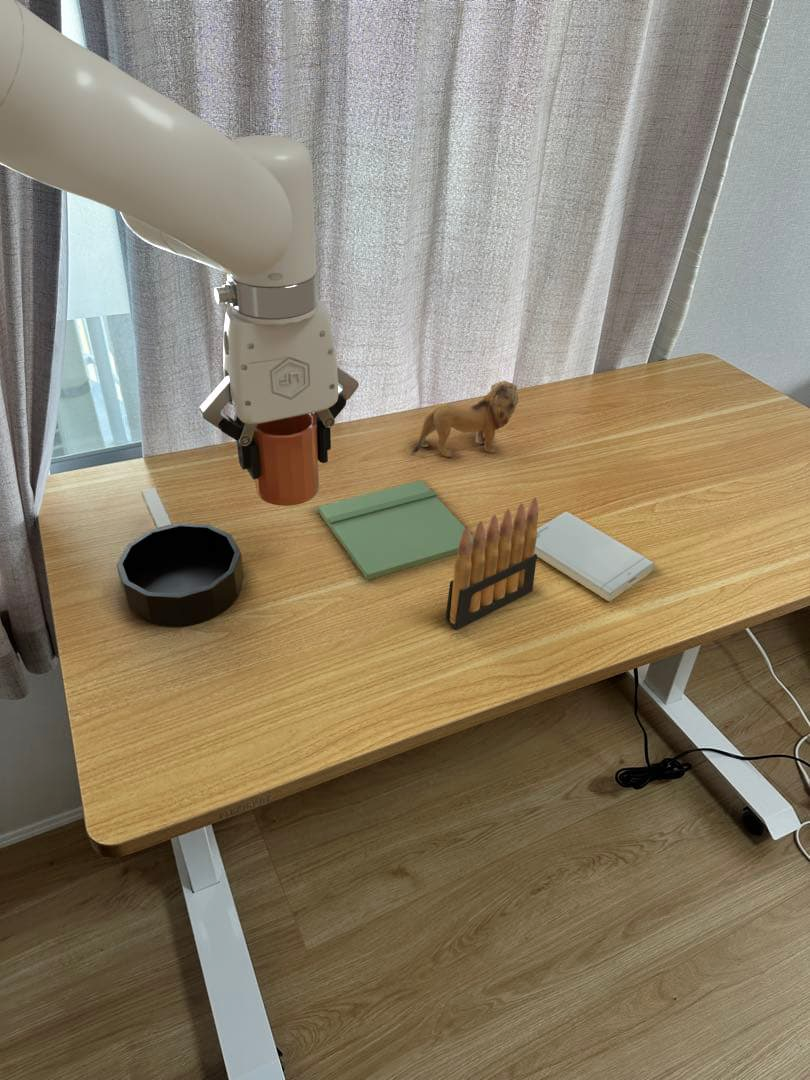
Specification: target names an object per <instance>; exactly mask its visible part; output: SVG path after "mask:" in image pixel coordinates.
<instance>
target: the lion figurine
mask: <svg viewBox="0 0 810 1080" xmlns="http://www.w3.org/2000/svg"><path fill="white" fill-rule="evenodd" d="M517 391H518V386H517V385H516V384H514V383H512V382H509V381H507V380H502V381H499V382H496V383H494V384H492V385H491V386H490V391H489V392H488V393H487V394H484V396H483V397H482V400H480V401H479V402H477V403H476V404H472V405H455V404H451V403H441V404H438V405H435V406H434V407H432V409H430V411H428V412H427V414H426V416H425V417H424V419H423V423H422V426H421V429H420V432H419V433H420V434H419V439H418V441H417V443H416V445H414V448H413V449H412V450H411V453H418V452H419V450H420V448H421V447H422V448H427V447H429V446H430V442H429V441H428V440H426V438H427V437H428V436H429V435H430V434H432V433H434V432H435V431H436V433H437V436H438V440H437V444H436V445H437V448H438V449H439V451H440V452H441V454H442V455H443V456H444V457H445V458H451V457H453V452H452V450H450V449H447V447H446V442H447V440H448V438H449V436H450V435H451V431H452V428H453V429H455V430H456V431H458V432H461V433H467V434H468V433H470V434H471V433H475V442H476V443H477V444H479V445H483V444H484V445H483V446H484V448H485V451H486V452H487V453H489V454H494V453H495V452H496V448H495V447H494V446H492V444H493V441H494V439H495V434H496V431H497V430H499V429H501V428H504V427H505V426H506V425H507V424H508V423H509V422H510V420H511V418H512V416H513V414H514V413H515V410H516V407H517V405H518V403H519V395H518V392H517Z"/></svg>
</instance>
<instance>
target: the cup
mask: <svg viewBox="0 0 810 1080" xmlns="http://www.w3.org/2000/svg"><path fill="white" fill-rule="evenodd" d="M253 440H254V441H255V442H256V444H257V446H258V455H259V466H260V477H259V479H255V480H254V485H255V491H256V494H257V496H258V497H259V498H260V499H261V500H262V501H264V502H266V503H268V504H271V505H274V506H281V507H290V506H297V505H301V504H304V503H307V502H309V501H311V500H312V499H313V498H315V497H316V495H317V494H318V492H319V490H320V469H319V466H320V465H319V460H318V441H317V418H316V416H315V415H314V413H309V414H304V415H300V416H295V417H290V418H286V419H281V420H276V421H271V422H266V423H260V424H258V425H257V428H256V430H255V433H254V436H253Z"/></svg>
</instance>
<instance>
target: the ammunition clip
mask: <svg viewBox="0 0 810 1080" xmlns="http://www.w3.org/2000/svg"><path fill="white" fill-rule="evenodd" d="M538 520H539V503H538V499H537V498H536V497H533V499H531V501H530V504H529V505H528V507H527V510H526V508H525V506H524V503H523V502H522V503H520V504H519V505H518V506H517V508H516V511H515V513H514V517H513V516H512V512H511V510H510V509H509V508H508V509H506V510H505V512H504V513H503V515H502V518H501V521H500V525H499V519H498V517H497V515H495V514H493V516H492V517H491V519H490V520H489V523H488V526H487V530H486V529H485V525H484V522H483V521H482V520H480V521H479V522H478V523H477V524H476V527H475V529H474V533H473V542H472V547H471V535H470V533H471V530H470V529H469V527H467V526H466V527H465V529H464V531H463V533H462V536H461V539H460V543H459V549H458V553H457V555H456V559H455V562H454V568H453V578H452V580H451V581H449V588H448V596H447V603H446V610H445V619H444V620H445V621H446V622H447V623H448V624H450V626H452V627H453V629H455V630H460V629H462V628H464V627H466V626H468V625H470V624H472V623H473V622H475V621H478V620H480V619H481V618H484V617H486V616H487V615H490V614H491V613H494V612H495V611H497V610H499V609H501V608H503V607H505V606H507V605H508V604H510V603H512V602H514V601H516V600H519V599H520V598H522V597H524V596H527V595H528V594H530V593H532V592H533V588H534V582H535V575H536V567H537V560H538V559H537V558H538V556H537V555H536V554H534V552H535V546H536V540H537V528H538V522H539V521H538Z"/></svg>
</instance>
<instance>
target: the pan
mask: <svg viewBox="0 0 810 1080" xmlns="http://www.w3.org/2000/svg"><path fill="white" fill-rule="evenodd" d="M140 493H141V497H142V499H143V501H144V504H145V506H146V508H147V511H148V513H149V516H150V519H151V520H152V522H153V525H154V527H155V528H154V529H150V530H148V531H147V532H145V533H144V534H141V535H140V536H139V537H137V538H136V539H134V540H133V541H130V543H128V544H127V545H126V546H125V548H124V549H123V552H122V554H121V556H120V557H119V559H118V561H117V563H116V569H117V573H118V577H119V581H120V582H119V583H120V586H121V590H122V593H123V597H124V598H125V602H126V605H127V607H128V609H129V610H130V611H131V613H132V614H133V615H135V617H137V618H139V619H140V620H142V621H144V622H146V623H148V624H151V625H154V626H159V627H165V628H167V627H168V628H180V627H189V626H194V625H199V624H202V623H204V622H208V621H209V620H212V619H214V618H216V617H218V616H220V615H221V614H223V613H224V612H225V611H227V610H228V609H230V608H231V607H232V606H233V604H235V602H236V601H237V600H238V598H239V597H240V594H241V592H242V588H243V580H244V576H245V575H244V568H243V559H242V551H241V550H240V548H239V547H238V544H237V541H236V540H235V539H234V537H233V535H232V534H230V533H228V532H225V531H223V530H221V529H219V528H217V527H215V526H213V525H211V524H204V523H203V524H202V523H189V522H188V523H186V522H177V523H174V524H173V523H172V520H171V518H170V516H169V514H168V512H167V510H166V508H165V506H164V503H163V501H162V499H161V497H160V495H159V493H158V490H157V488H156V486H154V487H149V488H145V489H141V490H140Z"/></svg>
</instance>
